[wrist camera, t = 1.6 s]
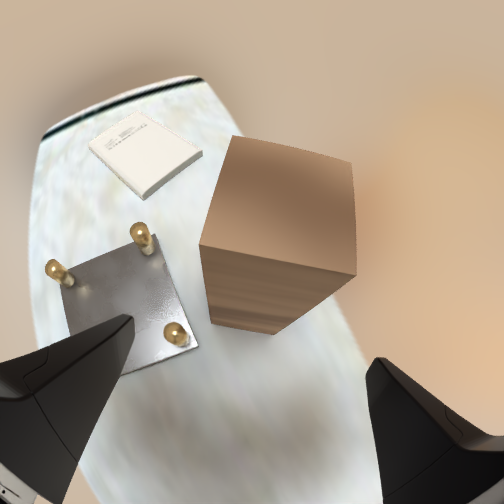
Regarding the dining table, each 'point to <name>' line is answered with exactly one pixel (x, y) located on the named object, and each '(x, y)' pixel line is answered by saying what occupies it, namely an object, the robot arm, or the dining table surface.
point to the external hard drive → (144, 153)
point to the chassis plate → (128, 298)
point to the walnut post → (276, 235)
